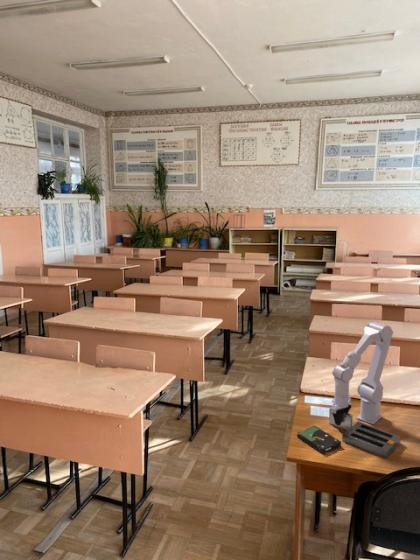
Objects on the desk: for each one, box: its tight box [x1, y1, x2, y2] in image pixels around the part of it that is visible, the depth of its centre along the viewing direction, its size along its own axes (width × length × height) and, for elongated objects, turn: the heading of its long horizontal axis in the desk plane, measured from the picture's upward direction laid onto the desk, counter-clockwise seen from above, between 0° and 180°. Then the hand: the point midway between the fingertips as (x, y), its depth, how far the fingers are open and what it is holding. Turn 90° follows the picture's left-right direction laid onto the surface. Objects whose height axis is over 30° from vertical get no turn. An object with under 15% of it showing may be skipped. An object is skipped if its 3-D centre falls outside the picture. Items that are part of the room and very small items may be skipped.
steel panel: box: [328, 407, 354, 431], centre depth 185 cm, size 2×10×7 cm, turn 46°
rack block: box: [341, 421, 402, 459], centre depth 173 cm, size 14×18×3 cm
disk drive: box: [296, 425, 342, 455], centre depth 174 cm, size 10×3×15 cm
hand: (340, 422), depth 185 cm, fingers open, 4 cm apart
